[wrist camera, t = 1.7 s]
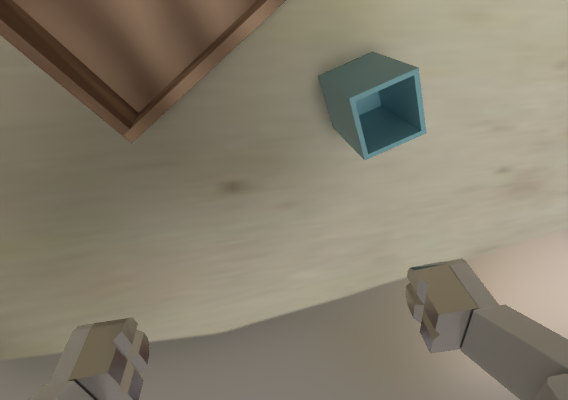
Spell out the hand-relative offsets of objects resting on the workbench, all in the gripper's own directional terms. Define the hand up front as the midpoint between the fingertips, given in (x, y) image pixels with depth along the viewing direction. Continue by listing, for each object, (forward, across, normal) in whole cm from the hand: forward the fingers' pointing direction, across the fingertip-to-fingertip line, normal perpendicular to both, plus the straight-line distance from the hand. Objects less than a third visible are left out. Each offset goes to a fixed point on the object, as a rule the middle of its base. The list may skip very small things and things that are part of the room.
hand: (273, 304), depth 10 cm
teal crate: (+26, +9, -4) cm, 28 cm away
